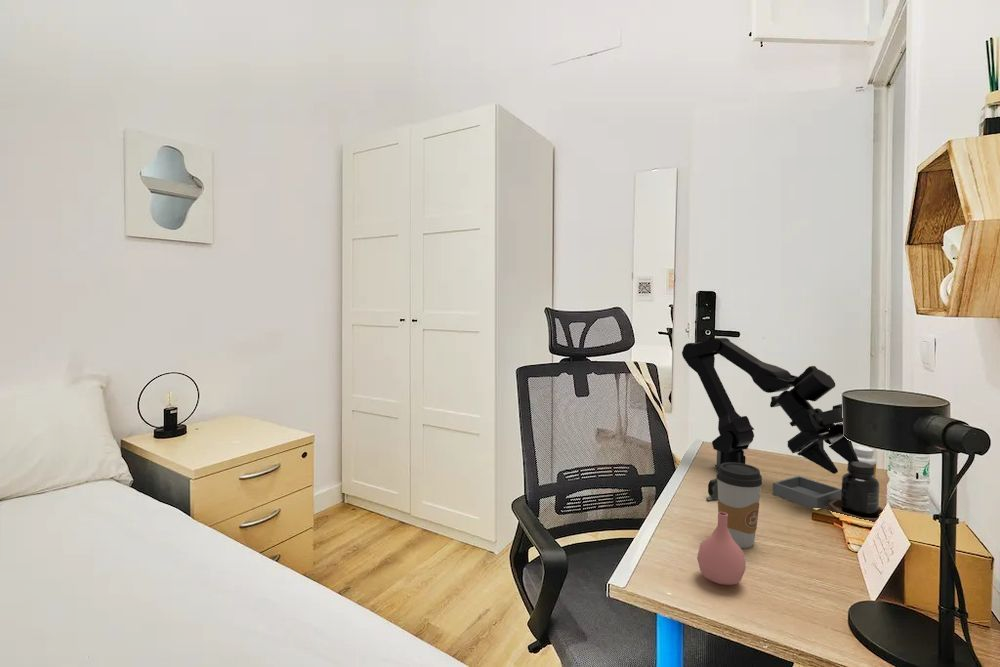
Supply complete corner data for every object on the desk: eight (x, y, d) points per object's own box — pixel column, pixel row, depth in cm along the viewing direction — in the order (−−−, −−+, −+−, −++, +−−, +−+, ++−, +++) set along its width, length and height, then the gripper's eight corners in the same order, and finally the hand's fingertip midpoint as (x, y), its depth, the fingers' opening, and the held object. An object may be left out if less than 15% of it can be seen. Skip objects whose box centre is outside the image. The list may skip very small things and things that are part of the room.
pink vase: (754, 584, 84) (757, 516, 84) (728, 599, 80) (730, 528, 79) (713, 564, 91) (715, 500, 90) (687, 576, 87) (689, 510, 86)
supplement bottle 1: (866, 481, 132) (868, 445, 132) (879, 489, 127) (882, 452, 126) (845, 480, 133) (847, 445, 132) (857, 488, 127) (859, 451, 127)
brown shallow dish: (847, 526, 106) (847, 518, 106) (820, 505, 117) (820, 497, 117) (901, 529, 105) (901, 520, 105) (869, 507, 116) (869, 500, 116)
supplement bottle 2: (871, 512, 113) (874, 461, 112) (883, 525, 107) (886, 471, 106) (836, 508, 115) (838, 458, 114) (845, 520, 109) (848, 467, 108)
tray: (772, 494, 123) (772, 482, 123) (797, 486, 128) (798, 475, 128) (816, 510, 114) (816, 498, 114) (842, 501, 119) (842, 489, 119)
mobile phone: (751, 473, 125) (702, 478, 121) (760, 477, 122) (710, 482, 118) (749, 492, 126) (701, 498, 121) (759, 496, 123) (709, 502, 118)
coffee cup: (741, 555, 94) (744, 478, 93) (705, 536, 101) (707, 465, 100) (769, 545, 98) (772, 471, 97) (732, 528, 105) (734, 459, 104)
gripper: (802, 396, 112) (853, 458, 103) (848, 389, 121) (899, 445, 112) (768, 423, 119) (813, 483, 110) (813, 415, 128) (858, 469, 119)
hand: (847, 469), depth 113 cm, fingers open, 9 cm apart
